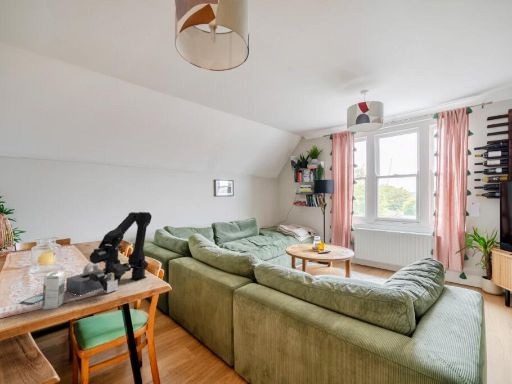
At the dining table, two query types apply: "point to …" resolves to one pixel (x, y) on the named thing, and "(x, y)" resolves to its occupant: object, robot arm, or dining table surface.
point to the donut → (90, 265)
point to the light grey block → (111, 285)
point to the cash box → (83, 283)
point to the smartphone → (33, 299)
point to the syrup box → (53, 290)
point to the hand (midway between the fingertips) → (110, 288)
